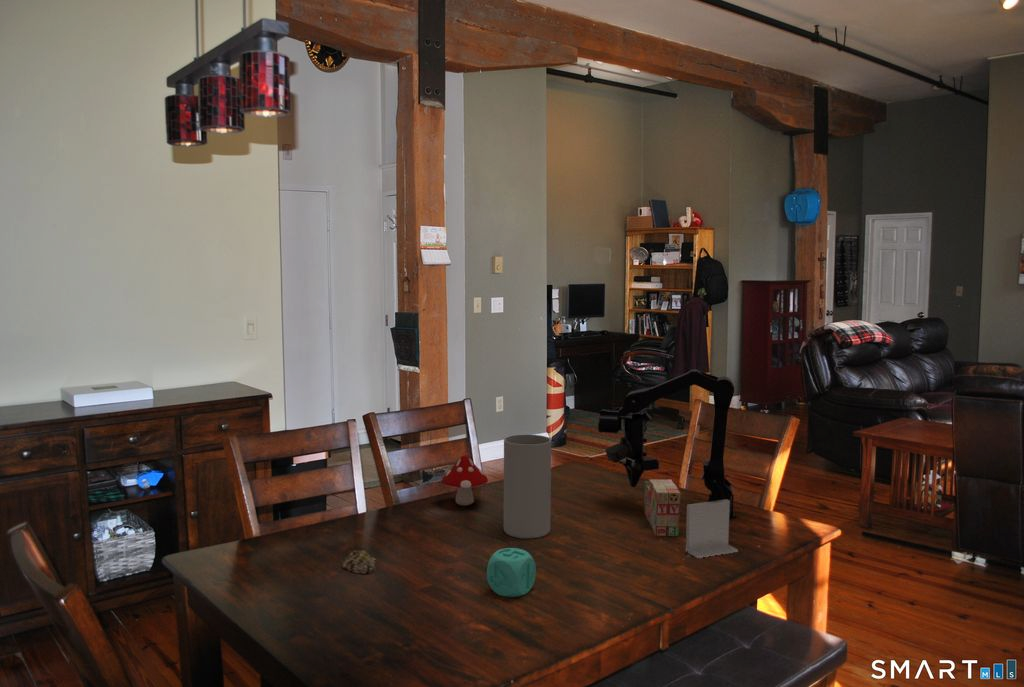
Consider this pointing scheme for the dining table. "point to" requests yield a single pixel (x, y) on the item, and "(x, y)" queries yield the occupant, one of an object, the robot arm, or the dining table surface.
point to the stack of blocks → (662, 506)
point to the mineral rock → (360, 562)
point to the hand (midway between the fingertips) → (633, 486)
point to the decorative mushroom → (464, 479)
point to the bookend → (708, 529)
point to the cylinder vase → (527, 486)
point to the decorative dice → (511, 572)
